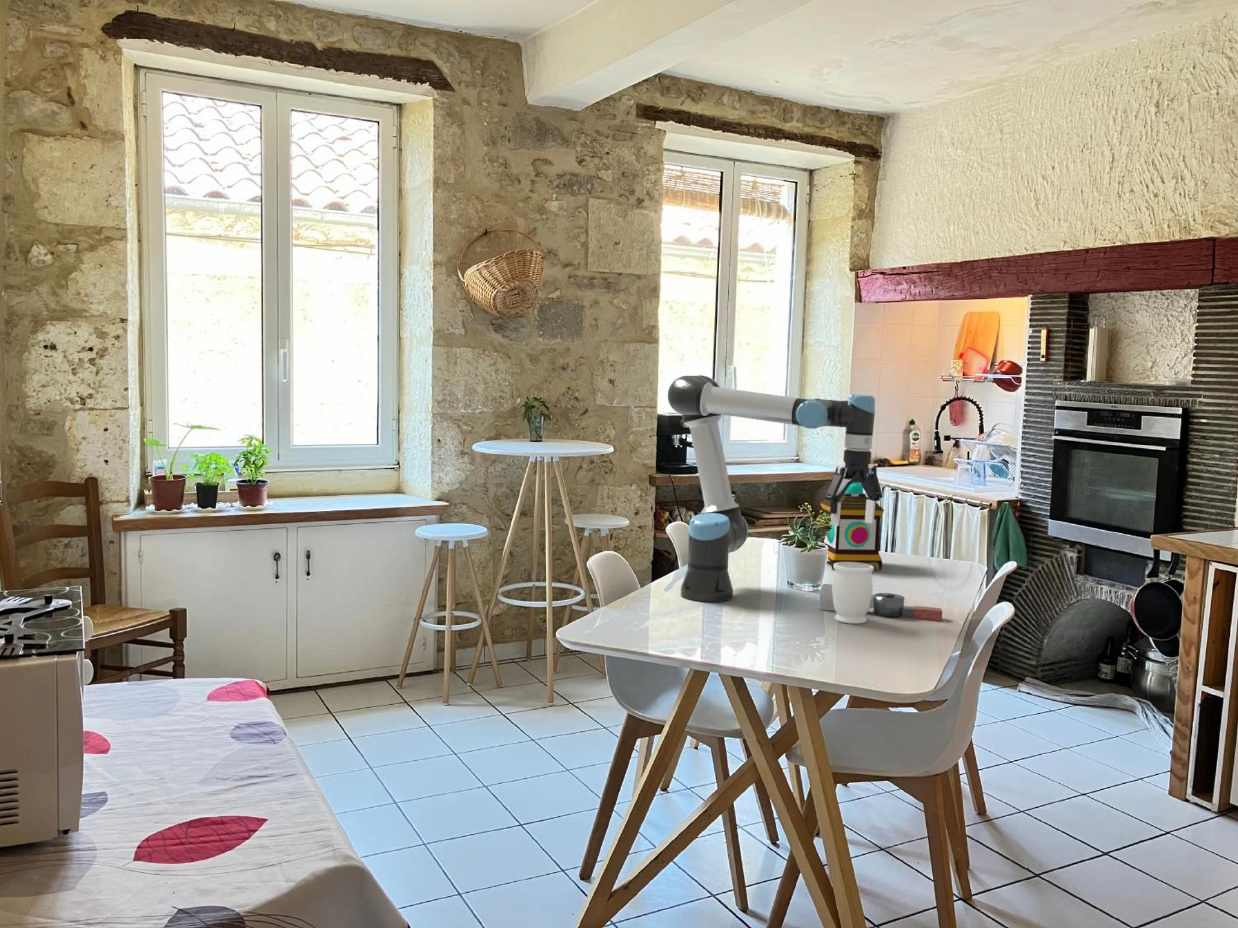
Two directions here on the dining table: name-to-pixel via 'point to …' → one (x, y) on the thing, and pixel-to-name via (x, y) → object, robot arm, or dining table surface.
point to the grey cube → (826, 598)
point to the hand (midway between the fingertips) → (852, 524)
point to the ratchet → (901, 608)
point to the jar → (852, 591)
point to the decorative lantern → (854, 530)
